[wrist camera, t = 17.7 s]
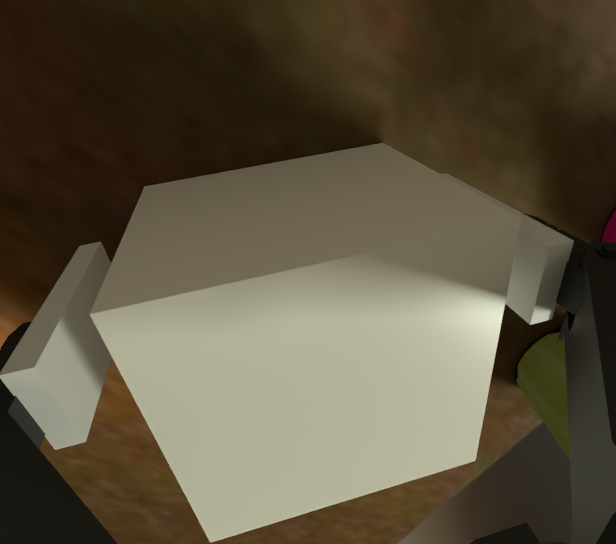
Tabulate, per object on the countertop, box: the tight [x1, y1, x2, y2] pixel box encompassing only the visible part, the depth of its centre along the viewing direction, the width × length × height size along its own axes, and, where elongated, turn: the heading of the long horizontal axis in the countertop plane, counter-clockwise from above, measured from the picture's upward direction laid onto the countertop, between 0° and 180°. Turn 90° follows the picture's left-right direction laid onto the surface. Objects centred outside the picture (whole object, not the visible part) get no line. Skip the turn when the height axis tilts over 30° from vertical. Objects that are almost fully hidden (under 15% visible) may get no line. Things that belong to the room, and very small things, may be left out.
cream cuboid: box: [89, 143, 521, 543], centre depth 15 cm, size 10×10×9 cm
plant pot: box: [516, 332, 570, 459], centre depth 24 cm, size 9×9×9 cm
